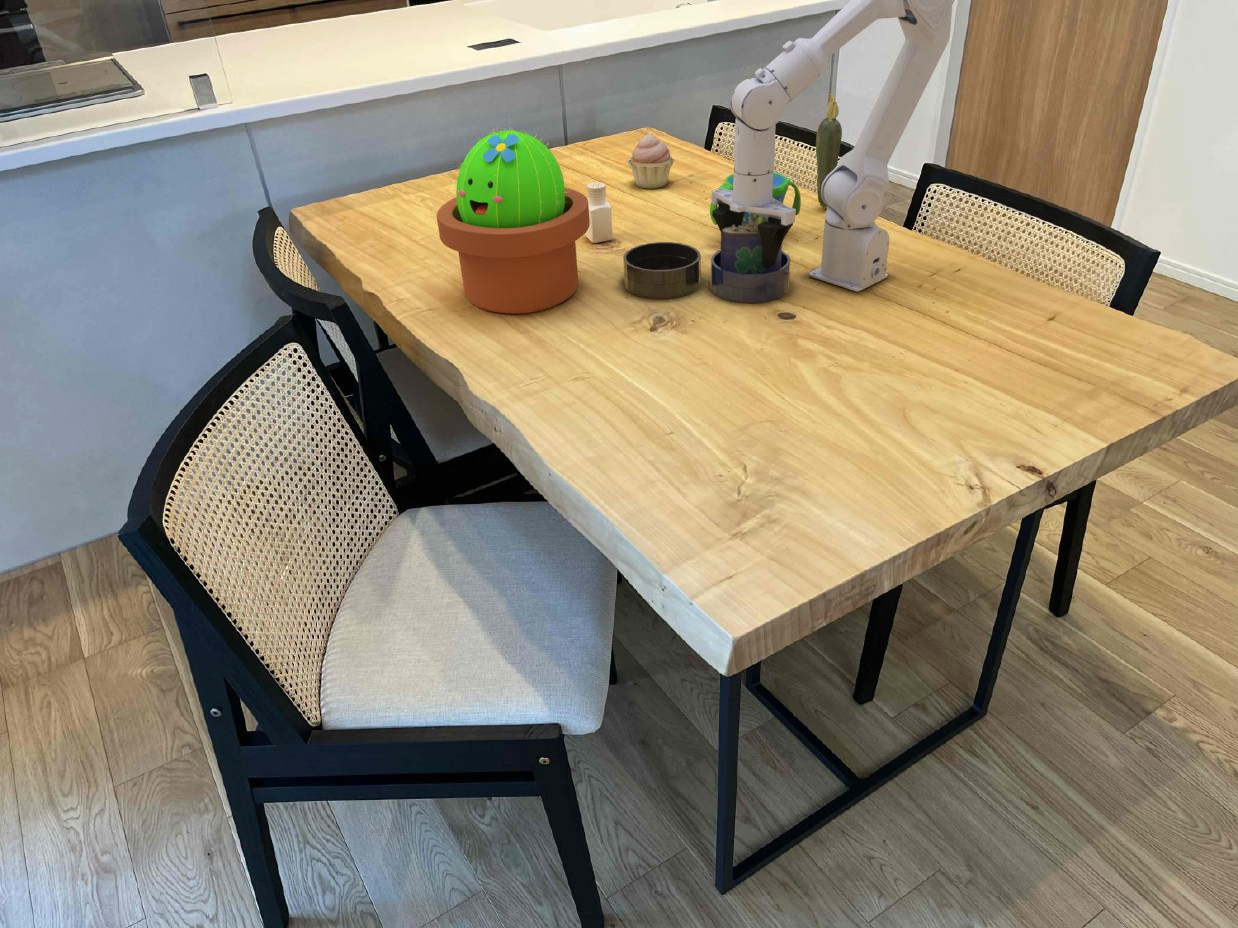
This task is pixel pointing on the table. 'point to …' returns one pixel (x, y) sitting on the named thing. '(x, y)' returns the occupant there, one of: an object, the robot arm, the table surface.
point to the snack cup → (778, 193)
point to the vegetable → (827, 145)
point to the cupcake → (651, 162)
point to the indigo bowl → (749, 282)
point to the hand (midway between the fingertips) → (750, 259)
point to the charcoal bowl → (662, 270)
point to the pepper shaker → (599, 214)
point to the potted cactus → (514, 225)
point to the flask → (744, 250)
